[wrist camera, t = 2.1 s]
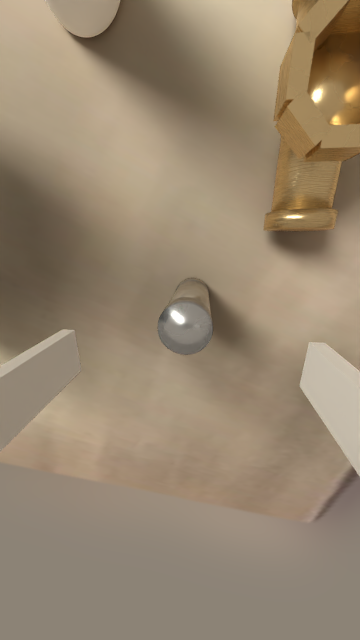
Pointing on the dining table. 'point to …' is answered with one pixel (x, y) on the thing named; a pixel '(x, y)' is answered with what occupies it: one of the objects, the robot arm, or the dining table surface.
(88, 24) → the water bottle
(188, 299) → the metal cylinder
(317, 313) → the dining table surface
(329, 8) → the tee fitting
